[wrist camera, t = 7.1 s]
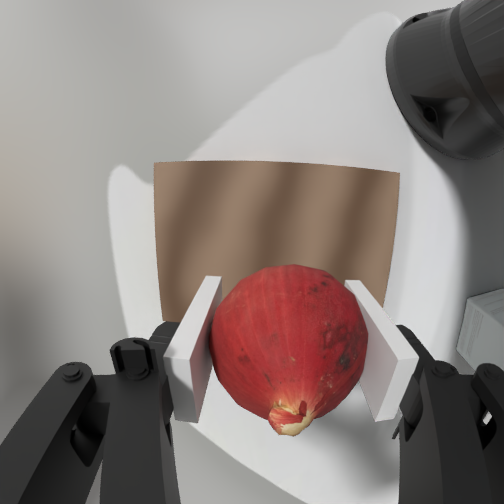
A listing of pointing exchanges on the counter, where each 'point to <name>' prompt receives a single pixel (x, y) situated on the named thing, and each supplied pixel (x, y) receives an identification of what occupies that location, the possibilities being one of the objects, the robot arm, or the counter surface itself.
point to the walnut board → (269, 224)
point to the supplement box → (483, 330)
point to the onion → (288, 345)
